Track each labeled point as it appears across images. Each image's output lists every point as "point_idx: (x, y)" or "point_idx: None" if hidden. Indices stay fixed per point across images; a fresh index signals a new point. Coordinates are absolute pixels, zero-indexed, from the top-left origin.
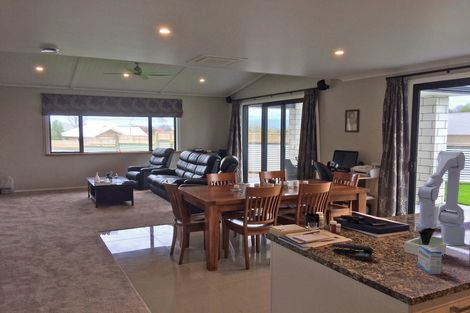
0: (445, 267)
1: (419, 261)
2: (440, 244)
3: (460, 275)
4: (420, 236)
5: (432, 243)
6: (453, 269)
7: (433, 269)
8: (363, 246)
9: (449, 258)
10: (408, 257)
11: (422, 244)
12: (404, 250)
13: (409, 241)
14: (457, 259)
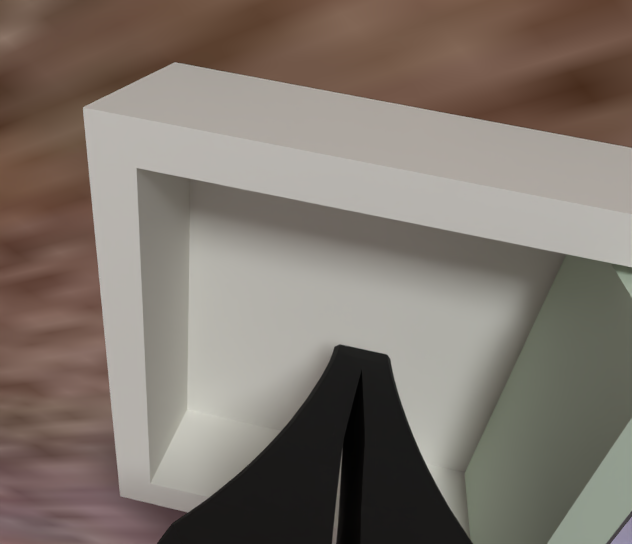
0: (76, 477)
1: None
2: (473, 532)
3: (18, 541)
4: (629, 328)
5: (511, 444)
6: (89, 514)
7: None
8: None
9: None
10: (6, 187)
11: (561, 276)
12: (163, 69)
13: (197, 176)
14: None
